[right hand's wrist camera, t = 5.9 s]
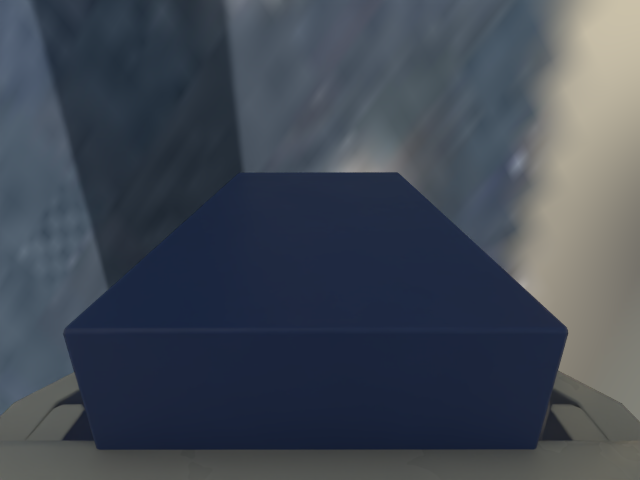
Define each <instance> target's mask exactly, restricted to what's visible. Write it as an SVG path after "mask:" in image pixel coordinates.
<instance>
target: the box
mask: <svg viewBox="0 0 640 480" xmlns="http://www.w3.org/2000/svg"><path fill="white" fill-rule="evenodd" d="M63 335H64V338H65V342H66V345H67V349H68V352H69V356H70V359H71V362H72V366H73V369H74V373H75V376H76V380H77V383H78V387H79V390H80V393H81V397H82V400H83V404H84V407H85V411H86V414H87V418H88V421H89V425H90V428H91V431H92V435H93V438H94V442H95V445H96V449H99V450H445V449H536V448H537V444H538V441H539V437H540V433H541V430H542V426H543V423H544V419H545V415H546V412H547V408H548V404H549V401H550V397H551V394H552V390H553V386H554V383H555V379H556V376H557V372H558V368H559V365H560V361H561V357H562V354H563V350H564V347H565V343H566V339H567V336H568V330H567V327H566V326H565V325H563V324H562V323H561V322H560V321H559V320H558V319H557V318H556V317H555V316H554V315H553V314H551V313H550V312H549V311H548V310H547V309H546V308H545V307H544V306H543V305H542V304H541V303H539V302H538V301H537V300H536V299H535V298H534V297H533V296H532V295H531V294H530V293H529V292H527V291H526V290H525V289H524V288H523V287H522V286H521V285H520V284H519V283H518V282H517V281H516V280H514V279H513V278H512V277H511V276H510V275H509V274H508V273H507V272H506V271H505V270H504V269H502V268H501V267H500V266H499V265H498V264H497V263H496V262H495V261H494V260H493V259H492V258H490V257H489V256H488V255H487V254H486V253H485V252H484V251H483V250H482V249H481V248H480V247H478V246H477V245H476V244H475V243H474V242H473V241H472V240H471V239H470V238H469V237H468V236H467V235H465V234H464V233H463V232H462V231H461V230H460V229H459V228H458V227H457V226H456V225H455V224H453V223H452V222H451V221H450V220H449V219H448V218H447V217H446V216H445V215H444V214H443V213H441V212H440V211H439V210H438V209H437V208H436V207H435V206H434V205H433V204H432V203H431V202H429V201H428V200H427V199H426V198H425V197H424V196H423V195H422V194H421V193H420V192H419V191H417V190H416V189H415V188H414V187H413V186H412V185H411V184H410V183H409V182H408V181H407V180H406V179H404V178H403V177H402V176H401V175H400V174H399V173H397V172H388V173H238V174H237V175H236V176H235V177H234V178H233V179H231V180H230V181H229V182H228V183H227V184H226V185H225V186H224V187H222V188H221V189H220V190H219V191H218V192H217V193H216V194H215V195H214V196H212V197H211V198H210V199H209V200H208V201H207V202H206V203H205V204H203V205H202V206H201V207H200V208H199V209H198V210H197V211H196V212H195V213H193V214H192V215H191V216H190V217H189V218H188V219H187V220H186V221H184V222H183V223H182V224H181V225H180V226H179V227H178V228H177V229H175V230H174V231H173V232H172V233H171V234H170V235H169V236H168V237H167V238H165V239H164V240H163V241H162V242H161V243H160V244H159V245H158V246H156V247H155V248H154V249H153V250H152V251H151V252H150V253H149V254H148V255H146V256H145V257H144V258H143V259H142V260H141V261H140V262H139V263H137V264H136V265H135V266H134V267H133V268H132V269H131V270H130V271H129V272H127V273H126V274H125V275H124V276H123V277H122V278H121V279H120V280H118V281H117V282H116V283H115V284H114V285H113V286H112V287H111V288H110V289H108V290H107V291H106V292H105V293H104V294H103V295H102V296H101V297H99V298H98V299H97V300H96V301H95V302H94V303H93V304H92V305H90V306H89V307H88V308H87V309H86V310H85V311H84V312H83V313H82V314H80V315H79V316H78V317H77V318H76V319H75V320H74V321H73V322H71V323H70V324H69V325H68V326H67V327H66V328H65V329H64V333H63Z"/></svg>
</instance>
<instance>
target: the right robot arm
mask: <svg viewBox="0 0 640 480" xmlns="http://www.w3.org/2000/svg"><path fill="white" fill-rule="evenodd" d="M0 480H640V422H639V421H638V420H637V419H636V418H635V417H634V416H633V414H632V413H631V412H630V411H629V410H628V409H627V408H626V407H625V406H624V405H623V404H622V403H620V402H618V401H616V400H614V399H612V398H610V397H608V396H606V395H604V394H602V393H601V392H599V391H597V390H595V389H593V388H591V387H589V386H587V385H585V384H583V383H581V382H579V381H577V380H575V379H573V378H571V377H569V376H568V375H566V374H564V373H562V372H560V371H558V372H557V376H556V379H555V383H554V386H553V390H552V394H551V397H550V401H549V404H548V408H547V412H546V415H545V419H544V423H543V426H542V430H541V433H540V437H539V441H538V444H537V448H536V449H445V450H99V449H96V445H95V442H94V438H93V435H92V431H91V428H90V425H89V421H88V418H87V414H86V411H85V407H84V404H83V400H82V397H81V393H80V390H79V387H78V383H77V380H76V376H75V373H74V372H73V373H72V374H70V375H68V376H66V377H64V378H62V379H60V380H58V381H56V382H54V383H52V384H50V385H48V386H46V387H44V388H42V389H40V390H38V391H36V392H34V393H32V394H30V395H28V396H26V397H24V398H22V399H21V400H19V401H17V402H15V403H13V404H12V405H11V406H10V407H9V408H8V409H7V410H6V411H5V412H4V413H3V414H2V415H1V416H0Z"/></svg>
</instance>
